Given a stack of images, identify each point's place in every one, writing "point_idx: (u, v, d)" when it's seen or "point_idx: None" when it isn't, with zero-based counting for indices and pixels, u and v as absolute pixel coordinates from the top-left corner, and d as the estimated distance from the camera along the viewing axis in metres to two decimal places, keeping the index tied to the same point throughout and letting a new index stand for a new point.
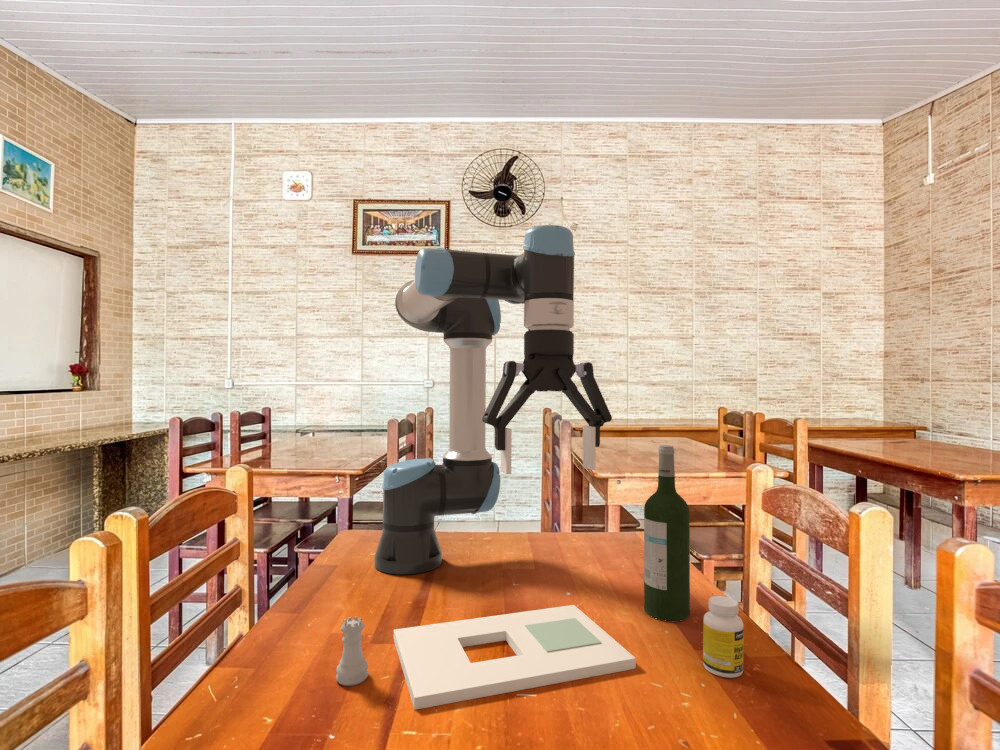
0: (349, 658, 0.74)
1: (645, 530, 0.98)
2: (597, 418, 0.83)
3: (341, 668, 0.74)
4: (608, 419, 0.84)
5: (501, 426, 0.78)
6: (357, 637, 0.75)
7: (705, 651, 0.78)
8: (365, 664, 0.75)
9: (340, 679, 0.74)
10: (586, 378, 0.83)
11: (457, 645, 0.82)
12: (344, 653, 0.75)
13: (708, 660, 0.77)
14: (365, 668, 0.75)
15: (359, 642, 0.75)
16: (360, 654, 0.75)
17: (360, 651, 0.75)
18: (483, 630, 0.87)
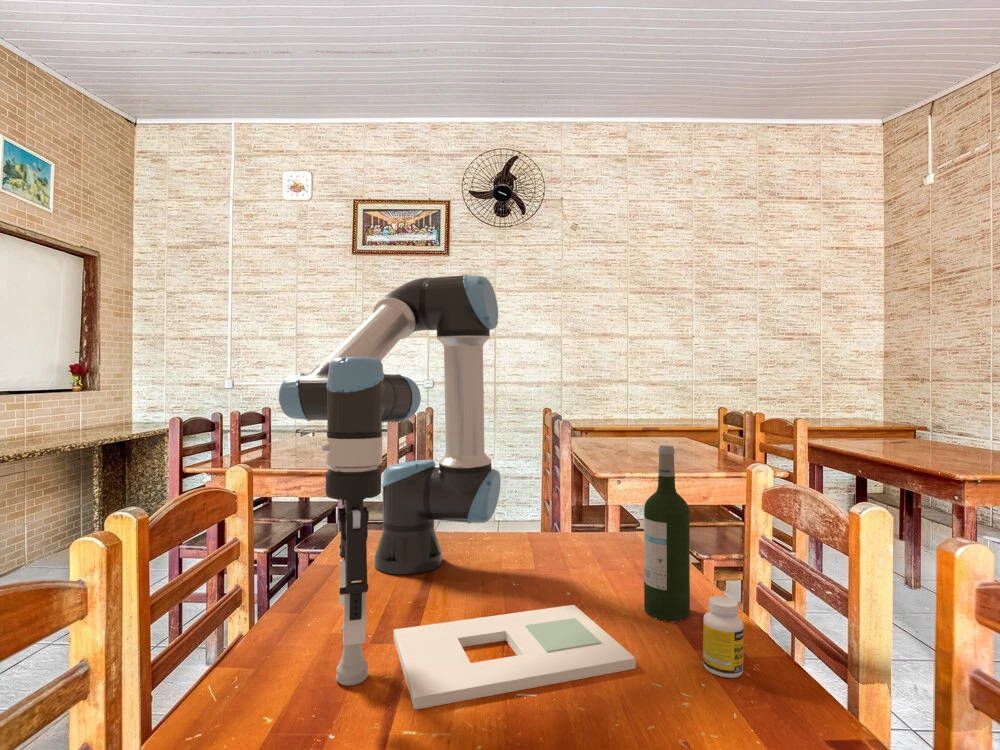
0: (349, 658, 0.74)
1: (645, 530, 0.98)
2: (345, 583, 0.68)
3: (341, 668, 0.74)
4: (345, 590, 0.66)
5: (340, 555, 0.83)
6: None
7: (705, 651, 0.78)
8: (365, 664, 0.75)
9: (340, 679, 0.74)
10: None
11: (457, 645, 0.82)
12: (344, 653, 0.75)
13: (708, 660, 0.77)
14: (365, 668, 0.75)
15: None
16: (360, 654, 0.75)
17: (360, 651, 0.75)
18: (483, 630, 0.87)
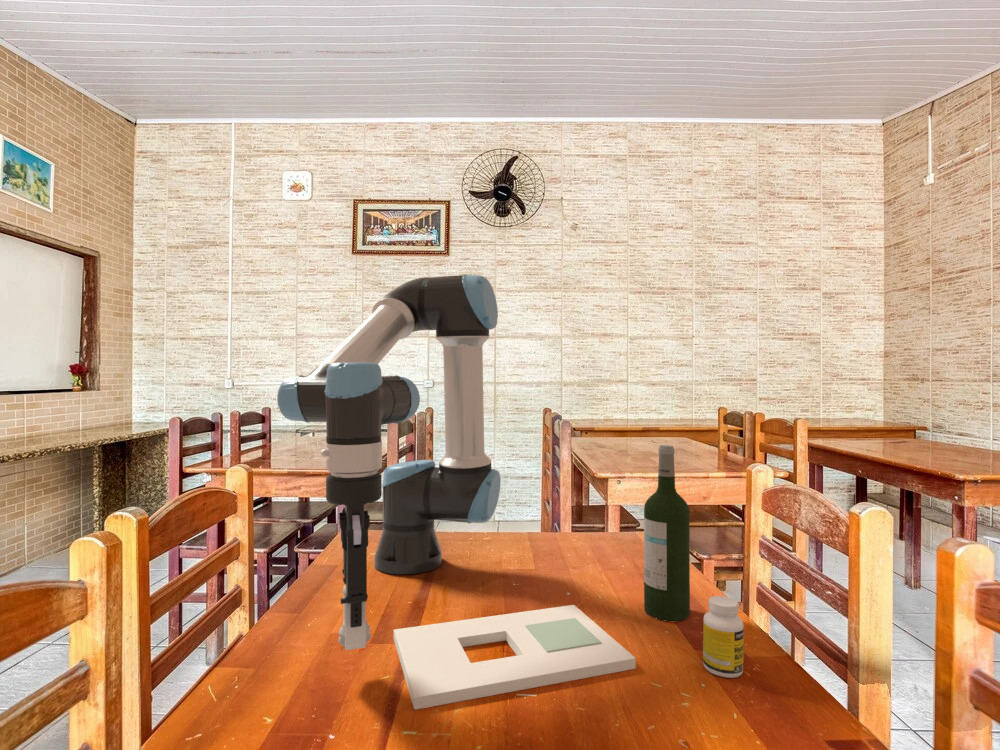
0: None
1: (645, 530, 0.98)
2: (346, 594, 0.72)
3: (344, 630, 0.75)
4: None
5: None
6: None
7: (705, 651, 0.78)
8: (367, 627, 0.76)
9: (343, 641, 0.74)
10: None
11: (457, 645, 0.82)
12: None
13: (708, 660, 0.77)
14: (367, 631, 0.75)
15: None
16: None
17: None
18: (483, 630, 0.87)
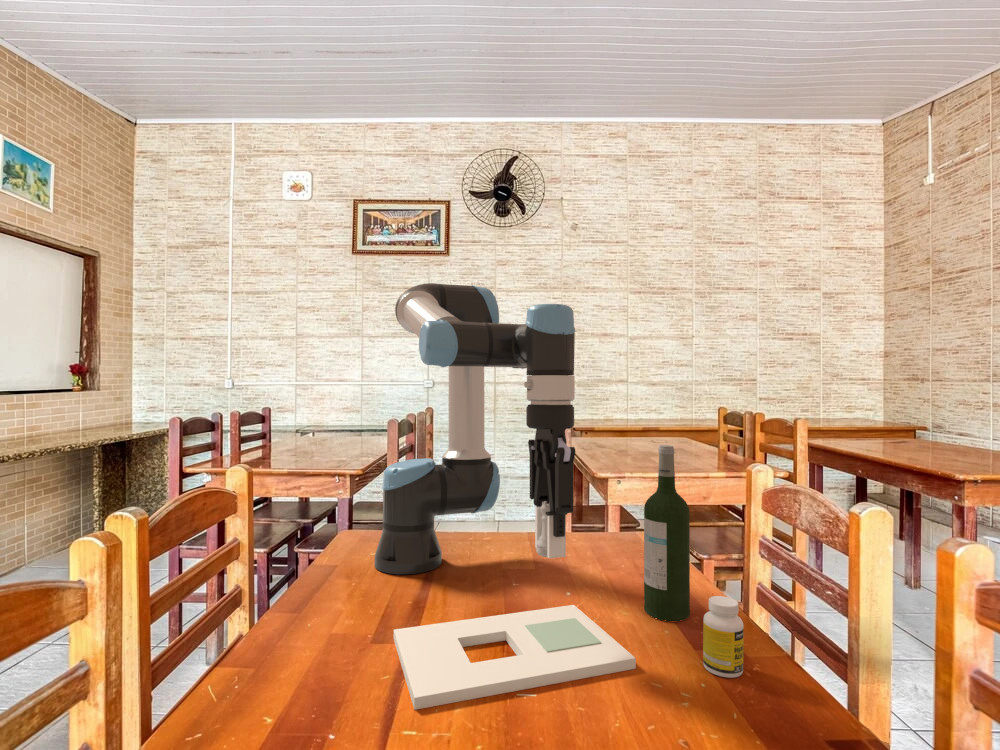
0: None
1: (645, 530, 0.98)
2: (552, 507, 0.81)
3: (543, 543, 0.84)
4: (555, 510, 0.80)
5: (534, 504, 0.88)
6: None
7: (705, 651, 0.78)
8: None
9: (543, 552, 0.83)
10: None
11: (457, 645, 0.82)
12: (545, 530, 0.84)
13: (708, 660, 0.77)
14: None
15: None
16: None
17: None
18: (483, 630, 0.87)
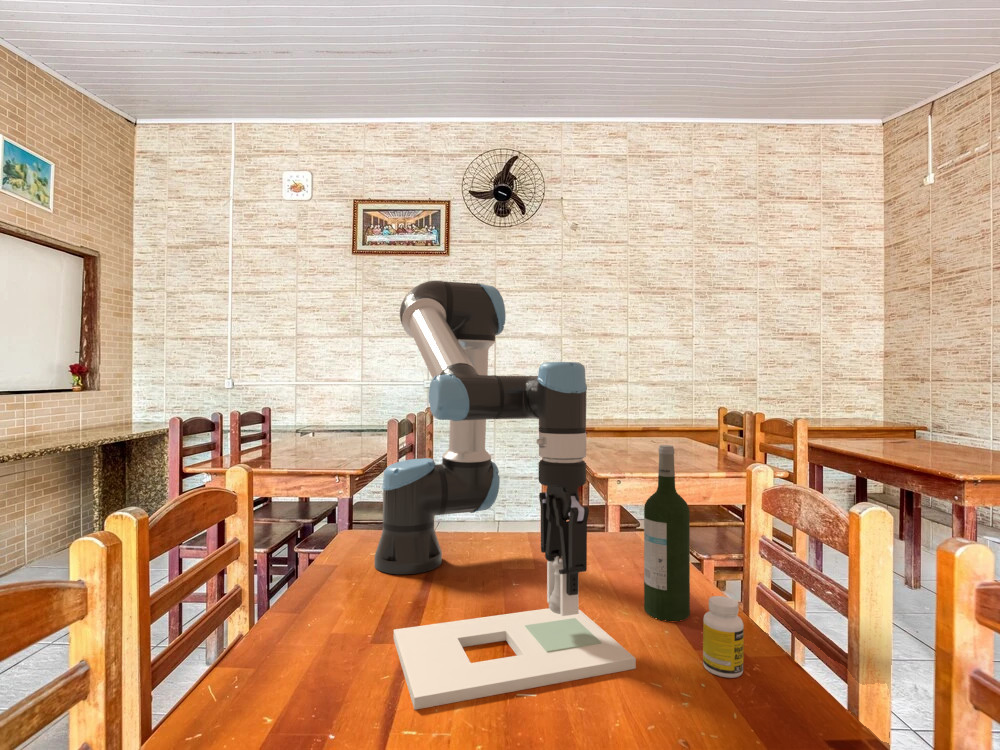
0: None
1: (645, 530, 0.98)
2: (565, 565, 0.82)
3: (556, 599, 0.84)
4: (569, 569, 0.80)
5: (546, 558, 0.89)
6: None
7: (705, 651, 0.78)
8: None
9: (556, 609, 0.84)
10: None
11: (457, 645, 0.82)
12: (557, 586, 0.85)
13: (708, 660, 0.77)
14: None
15: None
16: None
17: None
18: (483, 630, 0.87)
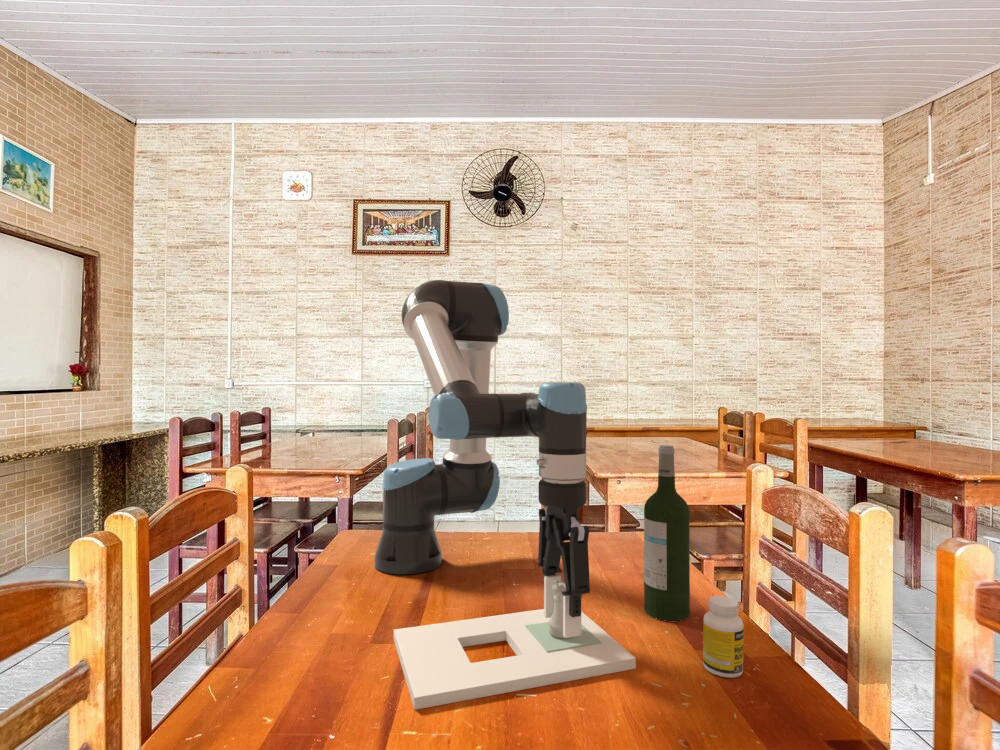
0: (562, 614, 0.84)
1: (645, 530, 0.98)
2: (568, 587, 0.81)
3: (555, 623, 0.84)
4: (572, 592, 0.79)
5: (543, 573, 0.90)
6: None
7: (705, 651, 0.78)
8: None
9: (555, 633, 0.84)
10: None
11: (457, 645, 0.82)
12: (557, 610, 0.85)
13: (708, 660, 0.77)
14: None
15: None
16: None
17: None
18: (483, 630, 0.87)
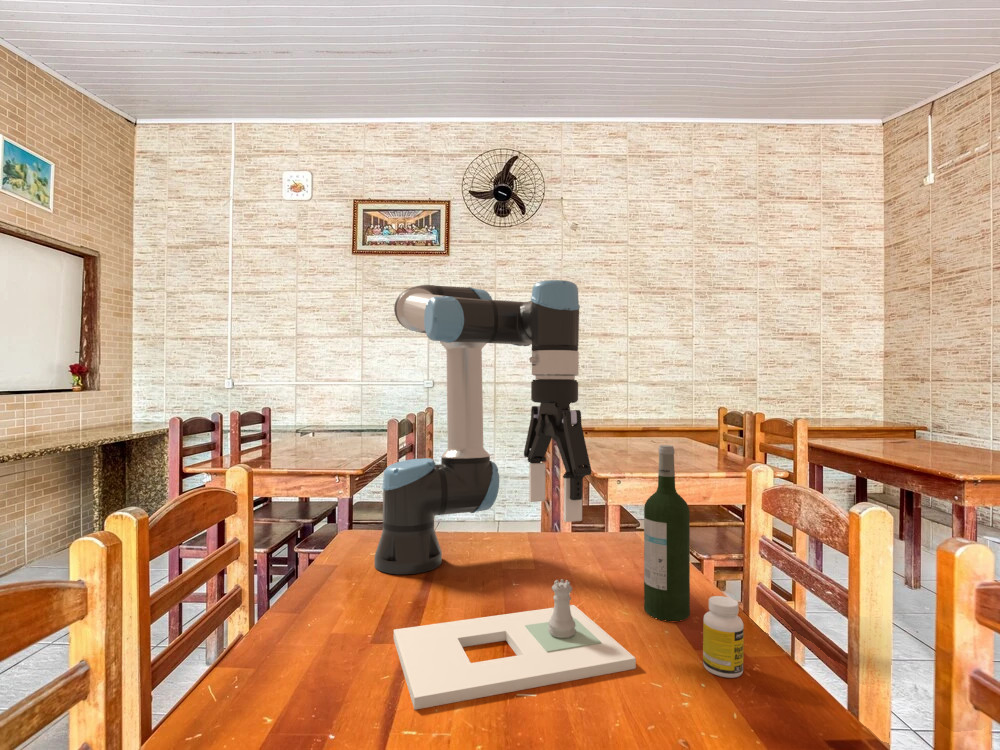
0: (562, 614, 0.84)
1: (645, 530, 0.98)
2: (568, 469, 0.80)
3: (555, 623, 0.84)
4: (573, 472, 0.78)
5: (528, 460, 0.94)
6: (568, 596, 0.85)
7: (705, 651, 0.78)
8: (573, 620, 0.86)
9: (555, 633, 0.84)
10: None
11: (457, 645, 0.82)
12: (557, 610, 0.85)
13: (708, 660, 0.77)
14: (574, 624, 0.85)
15: (569, 601, 0.85)
16: (570, 611, 0.85)
17: (569, 609, 0.85)
18: (483, 630, 0.87)
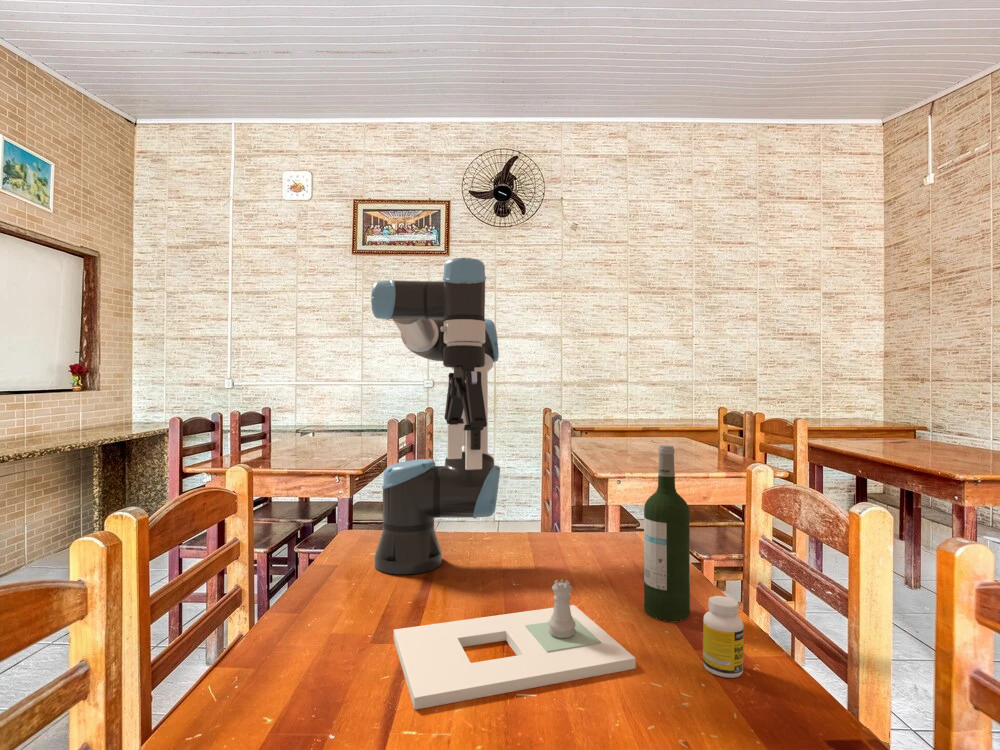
0: (562, 614, 0.84)
1: (645, 530, 0.98)
2: (468, 423, 0.90)
3: (555, 623, 0.84)
4: (470, 424, 0.88)
5: (447, 422, 1.05)
6: (568, 596, 0.85)
7: (705, 651, 0.78)
8: (573, 620, 0.86)
9: (555, 633, 0.84)
10: None
11: (457, 645, 0.82)
12: (557, 610, 0.85)
13: (708, 660, 0.77)
14: (574, 624, 0.85)
15: (569, 601, 0.85)
16: (570, 611, 0.85)
17: (569, 609, 0.85)
18: (483, 630, 0.87)
